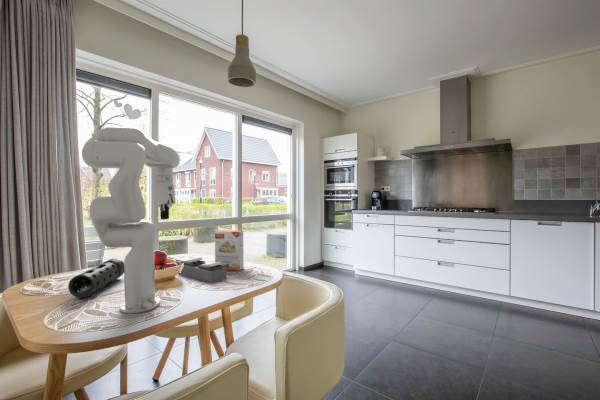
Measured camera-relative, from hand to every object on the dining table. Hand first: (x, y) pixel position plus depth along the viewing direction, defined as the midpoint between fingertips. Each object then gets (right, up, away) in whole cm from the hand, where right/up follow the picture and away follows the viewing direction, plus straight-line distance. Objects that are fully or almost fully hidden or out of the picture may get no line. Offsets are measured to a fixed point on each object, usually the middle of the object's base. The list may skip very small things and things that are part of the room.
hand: (164, 219), depth 132 cm
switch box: (+15, -29, +8) cm, 33 cm away
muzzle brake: (-23, -30, -10) cm, 39 cm away
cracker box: (+26, -29, +19) cm, 43 cm away
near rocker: (+20, -23, +3) cm, 31 cm away
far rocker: (+9, -23, +12) cm, 27 cm away
